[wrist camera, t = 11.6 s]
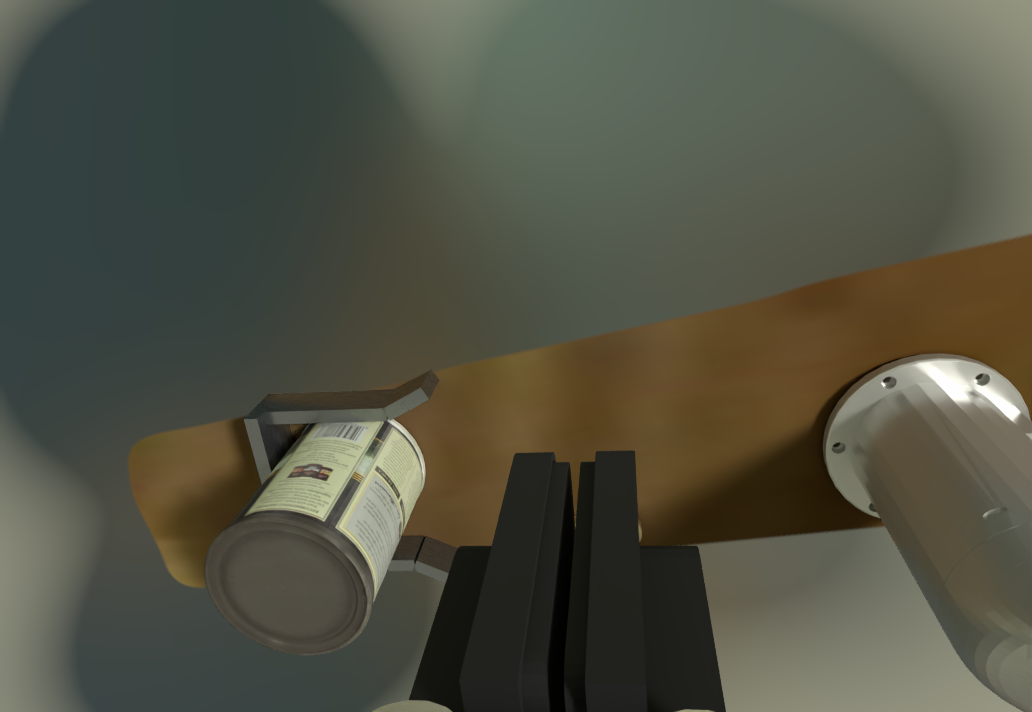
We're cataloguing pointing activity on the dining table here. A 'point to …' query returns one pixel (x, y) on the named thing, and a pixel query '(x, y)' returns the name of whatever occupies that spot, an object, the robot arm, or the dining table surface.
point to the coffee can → (317, 537)
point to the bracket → (281, 410)
